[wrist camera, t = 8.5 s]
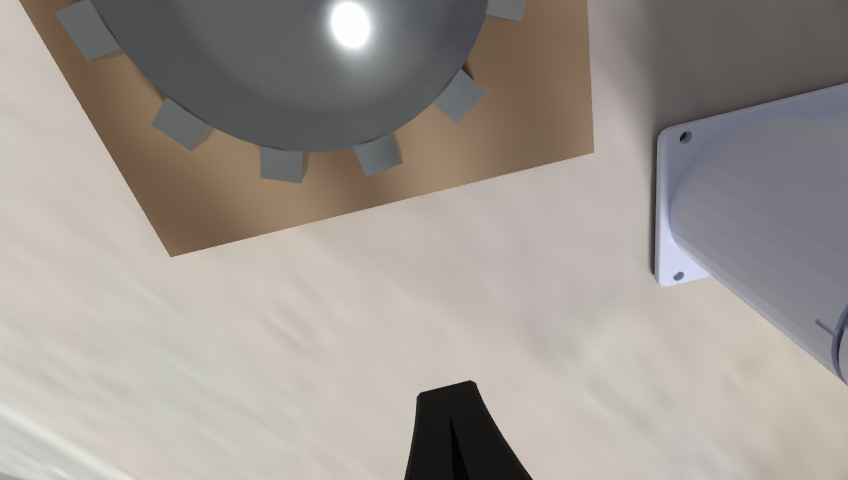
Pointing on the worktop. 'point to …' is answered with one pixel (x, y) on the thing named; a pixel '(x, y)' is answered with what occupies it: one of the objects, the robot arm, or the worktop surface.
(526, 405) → the worktop surface
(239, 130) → the sprocket
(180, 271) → the worktop surface
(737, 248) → the robot arm
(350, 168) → the sprocket base
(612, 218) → the worktop surface
